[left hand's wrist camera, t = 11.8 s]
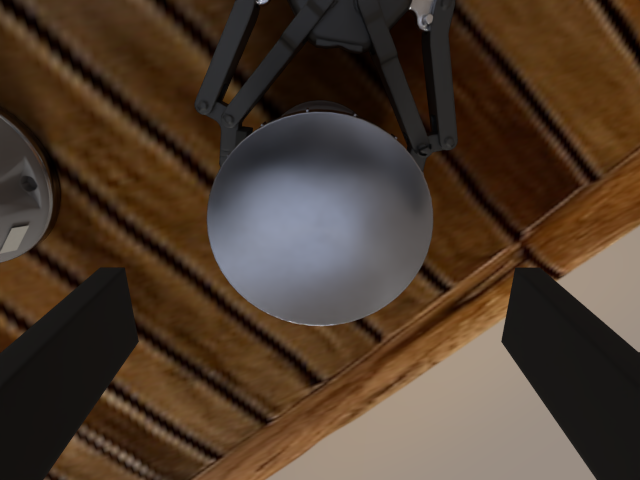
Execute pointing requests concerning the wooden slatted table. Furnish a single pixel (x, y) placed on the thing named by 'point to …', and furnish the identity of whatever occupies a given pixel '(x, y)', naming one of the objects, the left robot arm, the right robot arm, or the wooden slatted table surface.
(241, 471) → the wooden slatted table surface
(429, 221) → the lid
